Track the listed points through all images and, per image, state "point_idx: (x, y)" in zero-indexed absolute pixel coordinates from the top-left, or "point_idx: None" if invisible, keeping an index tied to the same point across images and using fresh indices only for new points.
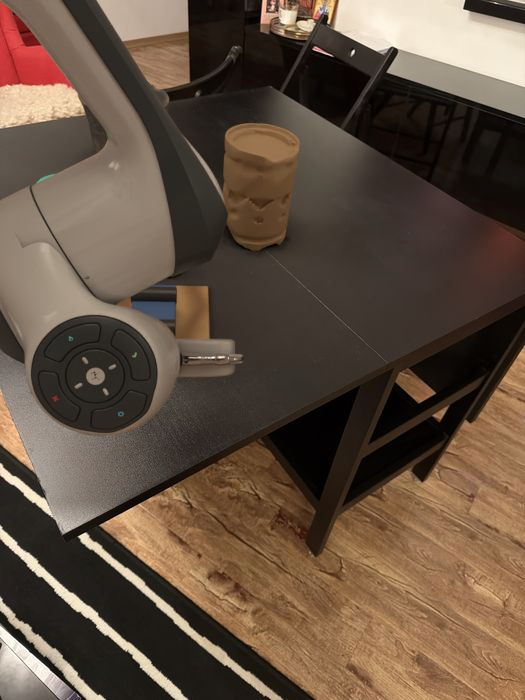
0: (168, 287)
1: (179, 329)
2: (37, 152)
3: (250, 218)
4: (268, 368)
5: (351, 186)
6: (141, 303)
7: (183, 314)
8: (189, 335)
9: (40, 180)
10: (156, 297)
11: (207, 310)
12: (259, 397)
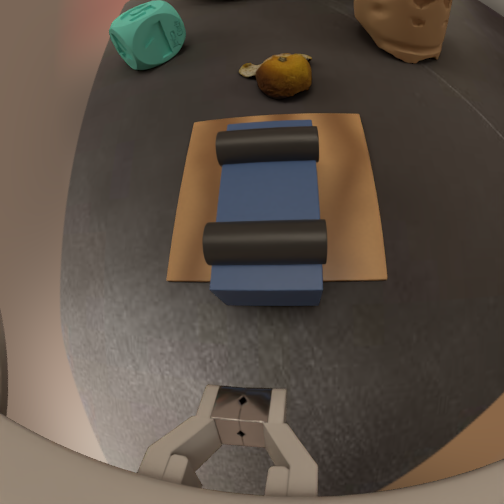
0: (299, 128)
1: (321, 207)
2: None
3: (406, 17)
4: (482, 298)
5: (472, 15)
6: (241, 169)
7: (325, 171)
8: (342, 221)
9: (118, 17)
10: (273, 153)
11: (368, 162)
12: (468, 368)
